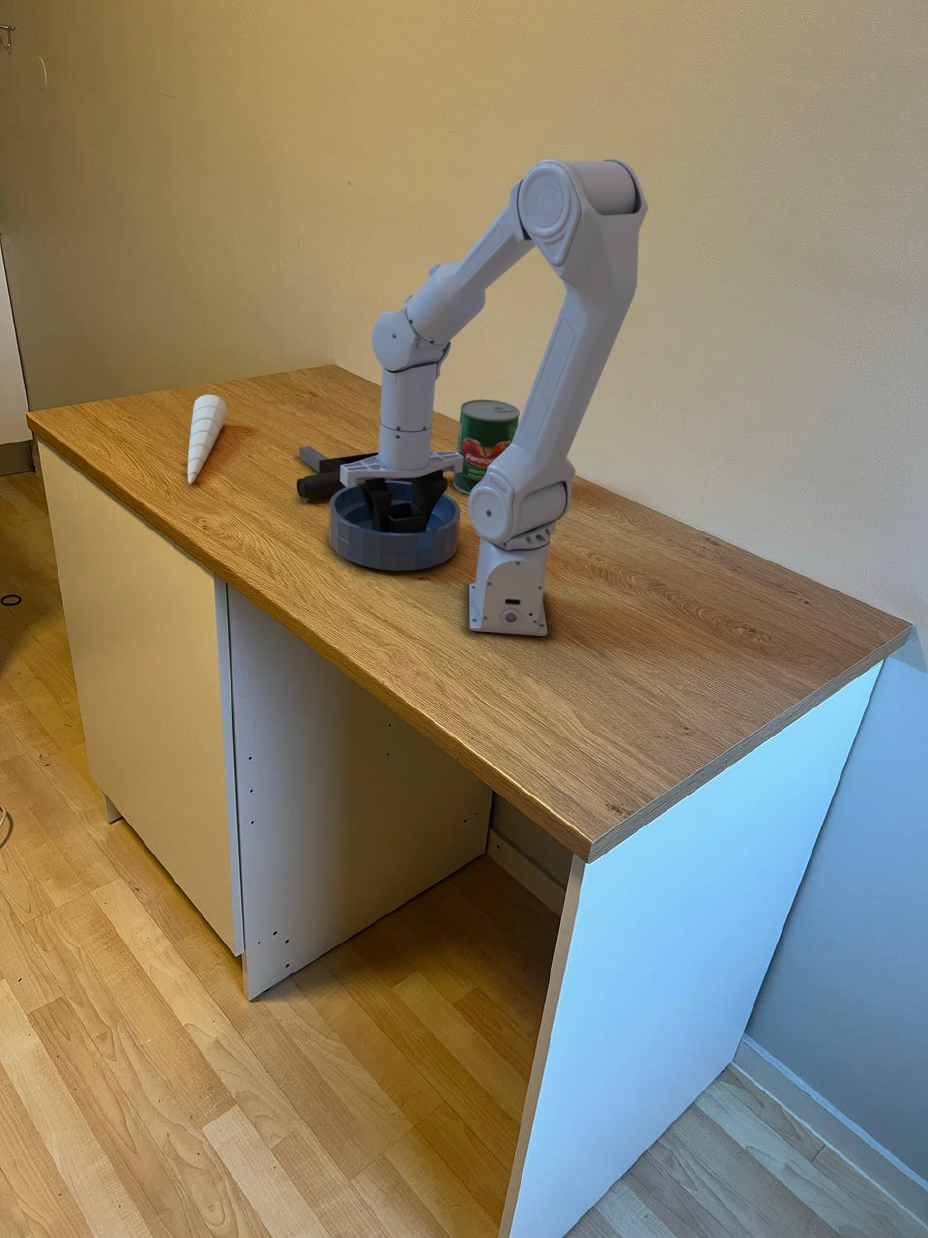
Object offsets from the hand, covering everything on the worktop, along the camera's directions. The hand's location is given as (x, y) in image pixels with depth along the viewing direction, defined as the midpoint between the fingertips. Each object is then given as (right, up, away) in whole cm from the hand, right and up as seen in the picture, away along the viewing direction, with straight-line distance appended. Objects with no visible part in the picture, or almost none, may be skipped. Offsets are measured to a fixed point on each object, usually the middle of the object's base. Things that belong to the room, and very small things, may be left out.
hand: (399, 534), depth 109 cm
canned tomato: (+10, +8, +20) cm, 24 cm away
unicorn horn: (-29, +13, +21) cm, 38 cm away
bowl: (-1, -1, +2) cm, 2 cm away
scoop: (-1, 0, +2) cm, 2 cm away
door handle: (-8, +10, +19) cm, 23 cm away
